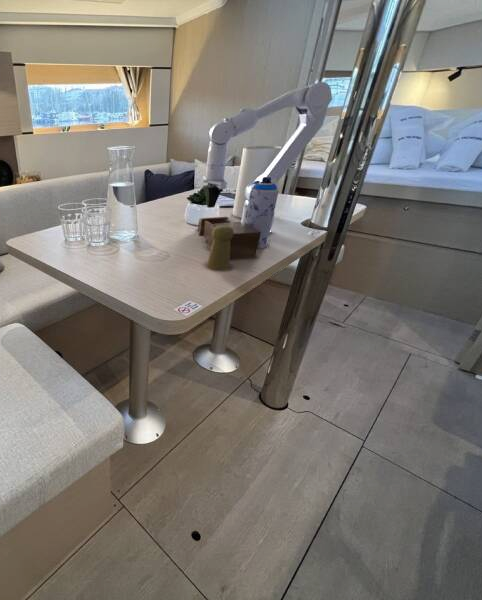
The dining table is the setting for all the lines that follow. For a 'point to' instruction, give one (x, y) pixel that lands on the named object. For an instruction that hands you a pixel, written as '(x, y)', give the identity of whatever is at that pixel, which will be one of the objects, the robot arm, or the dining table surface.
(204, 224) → the drawer
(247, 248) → the cabinet
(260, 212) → the aerosol can
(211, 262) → the cork
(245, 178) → the cylinder vase
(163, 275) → the dining table surface
